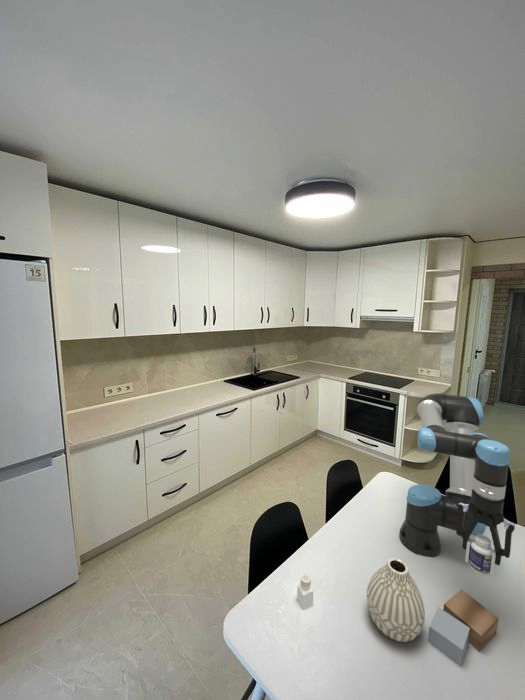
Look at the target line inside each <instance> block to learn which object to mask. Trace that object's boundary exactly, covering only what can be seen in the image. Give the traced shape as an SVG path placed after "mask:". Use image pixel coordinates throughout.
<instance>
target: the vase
mask: <svg viewBox="0 0 525 700" xmlns="http://www.w3.org/2000/svg"><path fill="white" fill-rule="evenodd" d="M408 567H409V566H408V565H407V564H406V563H405V562H404V561H403V560H401V559H399V558H396V557H391V558H389V559H388V560H387V562H386V563H385V565H383V566H381V567H380V568H379V569H377V570H376V571H375V572H374V573H373V574H372V576H371V577H370V580H369V582H368V583H367V587H366V602H367V603H366V604H367V608H368V612H369V615H370V617H371V619H372V620H373V622H374V624H375V626H376V627H377V629H379V631H381V632H382V633H383V634H384V635H385V636H387V637H388V638H390V639H391V640H394V641H396V642H399V643H400V642H402V643H407V642H410V641H413V640H414V639H416V638H417V637H418V636H419V635H420V634H421V632H422V630H423V628H424V624H425V619H426V609H425V604H424V600H423V596H422V594H421V591H420V589H419V587H418V585H417V584H416V582H415V580H414V578H413V577H412V576H411V574H410V570H409V568H408Z"/></svg>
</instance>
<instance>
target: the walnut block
mask: <svg viewBox="0 0 525 700" xmlns="http://www.w3.org/2000/svg"><path fill="white" fill-rule="evenodd" d="M442 610H444V611H445V612H447V613H448V614H450V615H451V616H453V617H454V618H456V619H457V620H459V621H460V622H462V623H463V624H465V625H466V626H468V627H469V628H470V632H469V640H468V645H470V646H471V647H473V648H474V649H475V650H476V651H477V652H478V653H480V652H481V651H482V650H483V649H484V648H485V646H487V645H488V643H489V642H491V641H492V639H494V637H496V635H497V631H498V623H499V617H498V616H497V615H495V614H494V612H491V610H489V609H488V608H487V607H485V606H484V605H482V604H481V602H479V601H477V600H476V599H475V598H473V597H472V596H471V595H470V594H468V593H467V592H465V591H464V590H463V588H462V589H460V590H459V591H458V592H457V593H456V594H454V595H453V596H451V598H449V599H448V600H447V601H446V602H444V603H443V608H442Z"/></svg>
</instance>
